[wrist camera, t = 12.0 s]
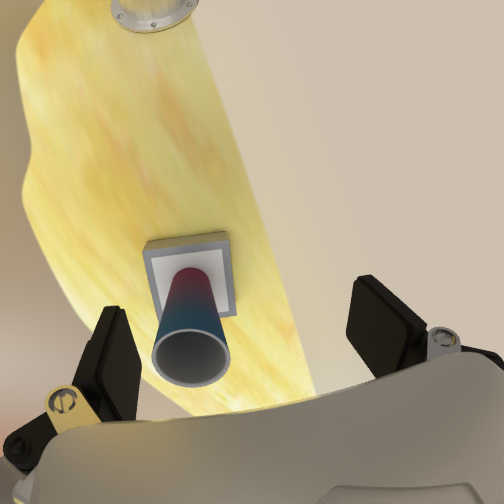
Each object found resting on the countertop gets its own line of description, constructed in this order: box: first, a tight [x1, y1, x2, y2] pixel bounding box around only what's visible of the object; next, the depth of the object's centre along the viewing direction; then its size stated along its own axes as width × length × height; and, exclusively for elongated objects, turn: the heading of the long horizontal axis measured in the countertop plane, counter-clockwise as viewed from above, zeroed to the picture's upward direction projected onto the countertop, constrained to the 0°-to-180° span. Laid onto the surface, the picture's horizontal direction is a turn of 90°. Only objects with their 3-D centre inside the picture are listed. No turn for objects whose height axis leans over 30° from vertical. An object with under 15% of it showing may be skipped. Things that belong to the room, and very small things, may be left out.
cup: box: [152, 267, 230, 388], centre depth 30 cm, size 7×7×15 cm
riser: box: [142, 231, 237, 325], centre depth 39 cm, size 11×11×4 cm
